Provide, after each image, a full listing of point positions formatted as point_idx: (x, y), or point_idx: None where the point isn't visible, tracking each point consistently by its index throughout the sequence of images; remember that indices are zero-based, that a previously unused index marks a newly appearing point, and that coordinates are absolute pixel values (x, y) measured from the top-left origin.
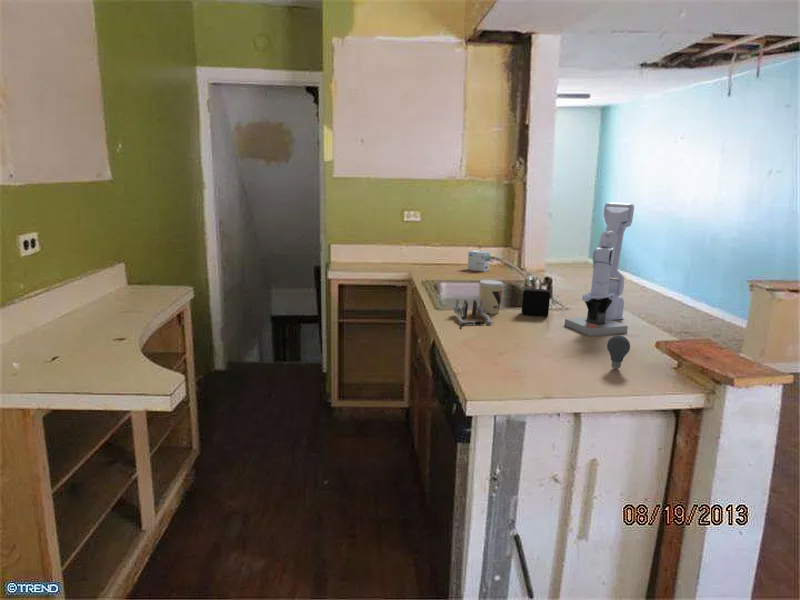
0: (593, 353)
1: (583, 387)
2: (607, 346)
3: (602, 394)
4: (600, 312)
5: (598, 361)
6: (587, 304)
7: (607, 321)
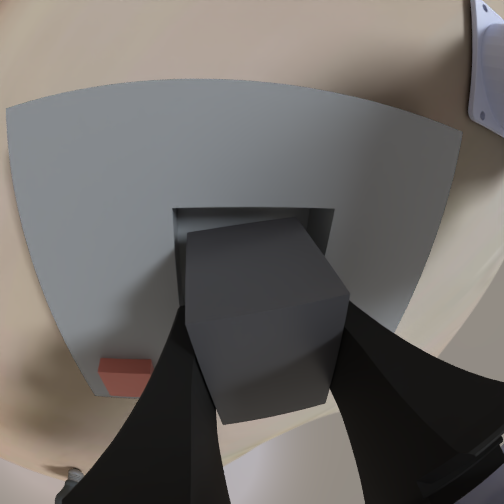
0: (55, 437)
1: (18, 461)
2: (55, 499)
3: (37, 472)
4: (299, 389)
5: (55, 452)
6: (110, 477)
7: (366, 290)
